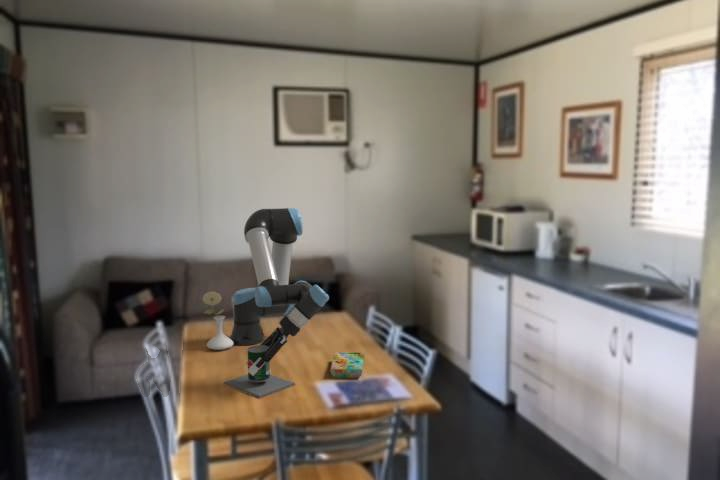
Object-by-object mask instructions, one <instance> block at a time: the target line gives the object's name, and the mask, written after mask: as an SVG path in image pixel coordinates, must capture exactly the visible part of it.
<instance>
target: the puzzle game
mask: <svg viewBox="0 0 720 480" xmlns="http://www.w3.org/2000/svg"><path fill="white" fill-rule="evenodd" d="M332 359H333V360H332V362H331V366H330V369H329V371H330V374H331V375H332V377H333V378H353V379H355V378H360V377H361V376H362V374H363V371H364V369H363V368H364V361H365V352H350V351H349V352H348V351H347V352H346V351H345V352H338V351H337V352H336V351H335V352H334V355H333V358H332Z"/></svg>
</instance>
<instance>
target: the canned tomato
mask: <svg viewBox="0 0 720 480" xmlns="http://www.w3.org/2000/svg"><path fill="white" fill-rule="evenodd" d="M268 347H269V346H265V345H260V344H255V345H252V346H251V345H250V347H248V348H247V349H246V350H247V361H248V365H247V370H248V369H249V368H250V367H251V366H252V365H253V364H254V363H255V362H256V361H257V359H258V358H259V356H260V355H263V354H264V353H265V351H266V350H267V349H268ZM247 374H248V380H249V381H252V382H263V381H267V380H269V379H270V375H271V361H270V362H266V363H265V364H264V365H263V366H262V367H261V368H260V369H259V370H258V371H257V372H256V373H255V374H254V376H253V375H251V374H250V373H249V372H248V371H247Z"/></svg>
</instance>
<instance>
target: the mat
mask: <svg viewBox="0 0 720 480" xmlns="http://www.w3.org/2000/svg"><path fill="white" fill-rule="evenodd" d="M223 384H226V385H225V386H227V385H228V387H230V386H231V387H230V388H232V387H234V388H233V389H235V388H236V389H235V390H237V389H239V390H238V391H240V390H241V391H240V392H243V393H245V392H246V394H248V395H250V394H251V395H250V396H254V397H257V398H259V399H261V398H264V397H267V396H269V395H273V394H275V393H277V392H280V391H283V390H285V389H288V388H290V387H293V386H295V385H296V383H295V381H294V382H293V381H291V380H288V379H285V378H282V377H280V376H279V377H278V376H276V375H273V374H270V379H269V380H267V381H263V382H252V381H249V380H248V373H247V374H245V375H242V376H238V377H235V378H232V379H229V380H227V381H224V382H223Z"/></svg>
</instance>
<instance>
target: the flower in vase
mask: <svg viewBox="0 0 720 480" xmlns="http://www.w3.org/2000/svg"><path fill="white" fill-rule="evenodd" d="M222 299H223V298H222V296H221V294H220V292H216V291H213V290H211V291H207V293H205V294H203V296H202V298H201V300H202V302H203V303H204V304H205V305H209V306H211V308H212V309H209V308H208V309H206V310H204V312H203V314H207V315H212V314H213V313H214V314H215V316H213V319H214V321H215V323H216V334H214V336H213V337H212V338H210V339H209V340H208V342H207V343H206V347H207V348H208V349H211V350H216V351H218V350H219V351H221V350H226V349H229V348H231V347H233V346H234V345H235V344H234V343H233V341H232V340H231V339H230V337H228V336H227V335H225V333H224V332H223V322H224V319H225V318H226V316H225V315H220V314H223V313H224V311H225V308H223V309H221V310H219V311H218V312H217V313H216V312H215V311H216V310H214V306H216V305H218V304H221V303H220V302H221V300H222Z"/></svg>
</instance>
